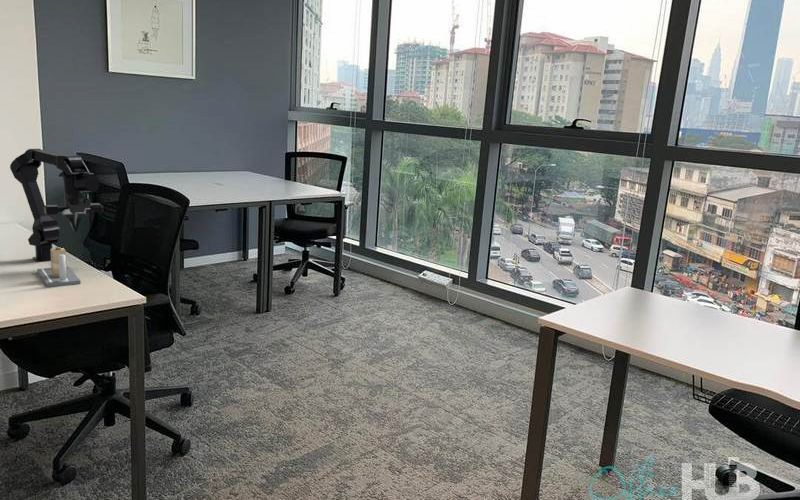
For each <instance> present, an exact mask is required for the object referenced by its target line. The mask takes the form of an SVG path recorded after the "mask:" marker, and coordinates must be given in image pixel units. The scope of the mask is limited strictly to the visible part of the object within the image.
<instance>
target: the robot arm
mask: <svg viewBox="0 0 800 500" xmlns="http://www.w3.org/2000/svg"><path fill="white" fill-rule="evenodd" d="M42 163H44V164H49V165H53V166H54V167H56V169H58V170H60V171H61V172H60V173H59V174H58V177H59V178H62V180H63V181H62V182H63V196H64V206H58V204H46V203H45V202H44V199H43V196H42V193H41V191H40V188H39V184H38V182H37V181H38V180H37V179H38V177H39V168H40V167H41V165H42ZM9 165H10V166H9V168H10V171H11V173H12V175H13V177H14V179H16V181H18V182H19V183H20V184H21V186H22V189H23V191H24V194H25V197H26V201H27V203H28V205H29V208H30V211H31V215H32V217H33V219H34V220H33V223H32V227H31V229H32V233H31V235H29V238H27V241H28V244H29V245H30V246H34V249H35V256H32V260H34V261H35V262H38V263H40V262H51V249H53V244H58V242H59V238H60V235H61V231H60V230H61V228H60V226H59V224H58V221H57V219H52V218H51V217H50V216H49V215H57V214H58V213H61V214H62V216H63V217H66V218H67V220H68V221H69V224H70V226H71V229H72V231H73V232H74V233H77V232H78V229H79V227H80V223H81V220H83V217H85V216H87V213H86V212H88V211H91V212H93V213H104V206H103V204H101V203H99V202H97V203H96V202H95V203H92V202H91V199H90V198H89V197H87V198H83V192H86V193H96V192H97V191H98V190H99V187H100V181H99V180H98V178H97V177H96V176H95V173H94V172H90V169H88V167H87V165H86V163H85V162H84V159H82V156H80V155H79V154H68V155H67V154H59V153H55V152H51V151H47V150H44V149H40V148H28V149H26V150H25V152H23V153H22V154H20V155H19V156H17V157H15V159H13V160H12V162H11V163H10V164H9Z"/></svg>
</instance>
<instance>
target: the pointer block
mask: <svg viewBox="0 0 800 500" xmlns="http://www.w3.org/2000/svg"><path fill="white" fill-rule="evenodd" d="M61 254H64V255H65V258H66V259H67V250H66V249H65V248H63V247H62V248H61V246H56V247H55V248H52V249H51V260H50V268H51V270H52V275H53V276H54V277H59V255H61ZM67 266H68V265H66V276H67Z"/></svg>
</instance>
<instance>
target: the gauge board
mask: <svg viewBox="0 0 800 500" xmlns="http://www.w3.org/2000/svg"><path fill="white" fill-rule="evenodd" d="M66 266H67V276H66ZM36 271H37V272H36V273H37V274H38V275H39V277H40V278H41V280H42V282H43V283H44V284H45V286H46V287H47V288H50V287H51V288H52V287H60V286H61V287H63V286H72V285H73V286H74V285H81V279H80V278H79V277H78V275H76V274H75V272H74V270H72V269H71V268H70V266H69V265H67V257H66V258H65V255H64V254H61V255H59V277H54V276H53V275H52V270H51V267H44V268H37V269H36Z"/></svg>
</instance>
